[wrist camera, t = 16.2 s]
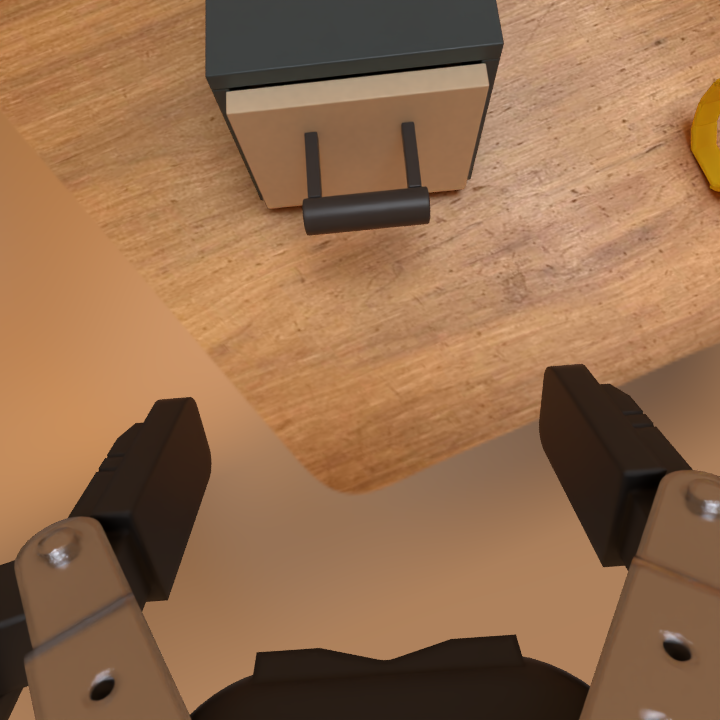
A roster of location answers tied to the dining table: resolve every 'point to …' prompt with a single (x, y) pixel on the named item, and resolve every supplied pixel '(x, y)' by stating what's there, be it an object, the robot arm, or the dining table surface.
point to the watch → (707, 135)
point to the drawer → (361, 142)
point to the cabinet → (343, 41)
